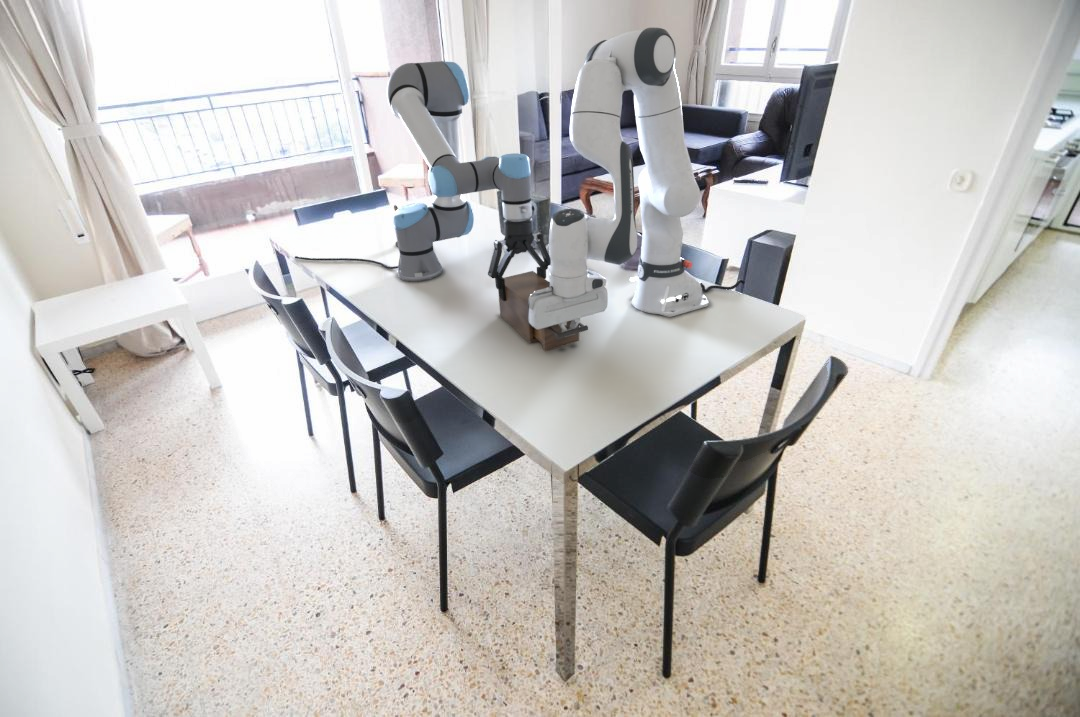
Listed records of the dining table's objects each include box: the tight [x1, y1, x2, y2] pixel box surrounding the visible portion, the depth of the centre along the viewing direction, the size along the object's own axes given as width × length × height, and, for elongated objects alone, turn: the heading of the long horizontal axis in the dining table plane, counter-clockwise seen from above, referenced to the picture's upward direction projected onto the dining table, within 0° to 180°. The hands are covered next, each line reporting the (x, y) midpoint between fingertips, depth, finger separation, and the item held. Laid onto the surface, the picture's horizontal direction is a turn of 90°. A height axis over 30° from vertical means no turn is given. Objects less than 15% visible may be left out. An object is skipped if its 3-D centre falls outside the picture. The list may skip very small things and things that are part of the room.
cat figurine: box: [621, 232, 642, 271], centre depth 172 cm, size 9×8×12 cm
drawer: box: [532, 320, 589, 352], centre depth 130 cm, size 23×10×10 cm, turn 28°
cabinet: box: [497, 270, 550, 344], centre depth 138 cm, size 19×11×12 cm, turn 28°
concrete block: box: [496, 190, 551, 249], centre depth 194 cm, size 27×9×20 cm, turn 36°
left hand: (522, 294), depth 141 cm, fingers closed on cabinet, 11 cm apart
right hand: (568, 334), depth 122 cm, fingers closed, pressing on drawer
